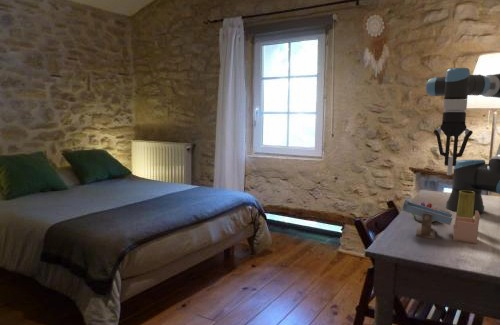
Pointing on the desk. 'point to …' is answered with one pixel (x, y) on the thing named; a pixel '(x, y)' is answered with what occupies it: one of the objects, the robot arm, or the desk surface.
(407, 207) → the lever
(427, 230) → the fulcrum
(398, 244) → the desk surface
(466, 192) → the vase
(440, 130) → the robot arm
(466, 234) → the pink square box
